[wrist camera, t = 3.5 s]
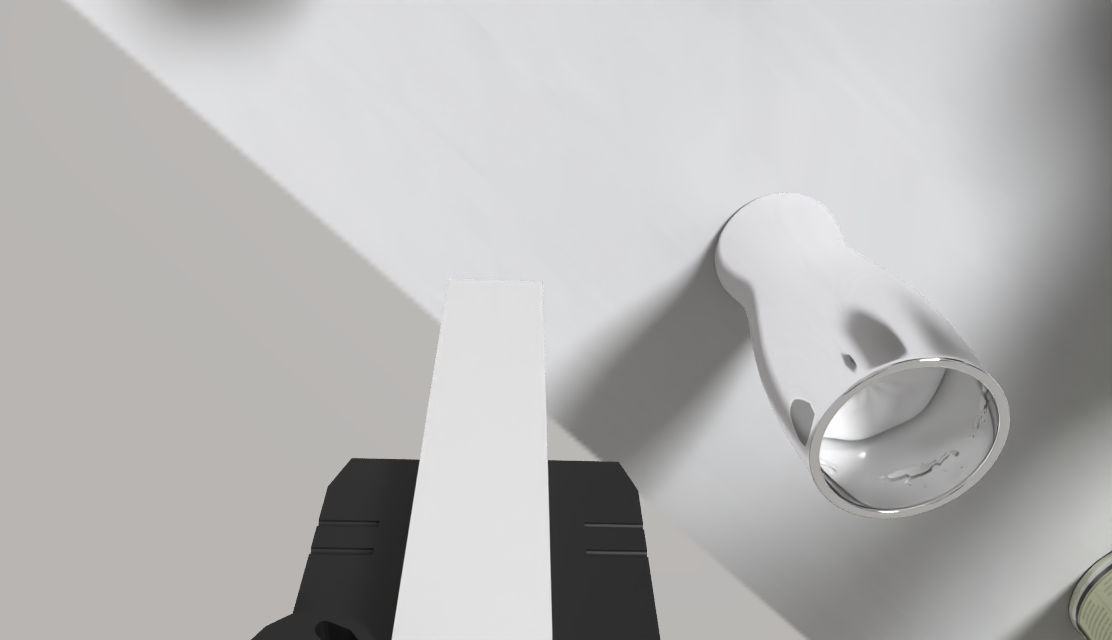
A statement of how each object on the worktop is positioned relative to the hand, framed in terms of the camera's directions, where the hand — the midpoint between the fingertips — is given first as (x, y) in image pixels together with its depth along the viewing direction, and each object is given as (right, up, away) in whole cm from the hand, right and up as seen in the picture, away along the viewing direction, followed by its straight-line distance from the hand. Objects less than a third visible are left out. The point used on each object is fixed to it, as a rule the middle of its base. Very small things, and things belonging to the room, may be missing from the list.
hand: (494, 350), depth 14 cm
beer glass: (+12, +4, +26) cm, 29 cm away
